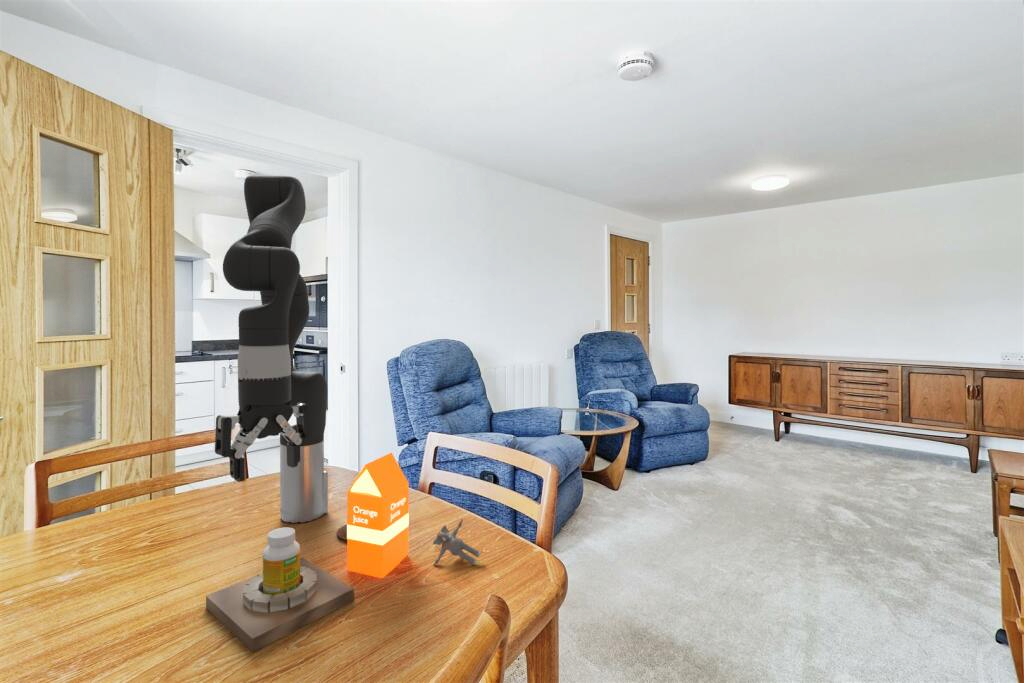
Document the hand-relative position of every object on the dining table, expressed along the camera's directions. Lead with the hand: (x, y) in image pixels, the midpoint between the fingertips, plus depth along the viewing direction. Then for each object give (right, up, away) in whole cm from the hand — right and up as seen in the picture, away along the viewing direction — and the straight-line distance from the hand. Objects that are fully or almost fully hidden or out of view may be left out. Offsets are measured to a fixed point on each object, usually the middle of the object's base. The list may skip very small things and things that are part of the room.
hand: (266, 473), depth 79 cm
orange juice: (+14, -21, +13) cm, 28 cm away
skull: (+8, -20, +26) cm, 34 cm away
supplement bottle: (+3, -19, 0) cm, 19 cm away
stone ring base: (+2, -21, 0) cm, 21 cm away
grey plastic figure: (+29, -21, +15) cm, 39 cm away
